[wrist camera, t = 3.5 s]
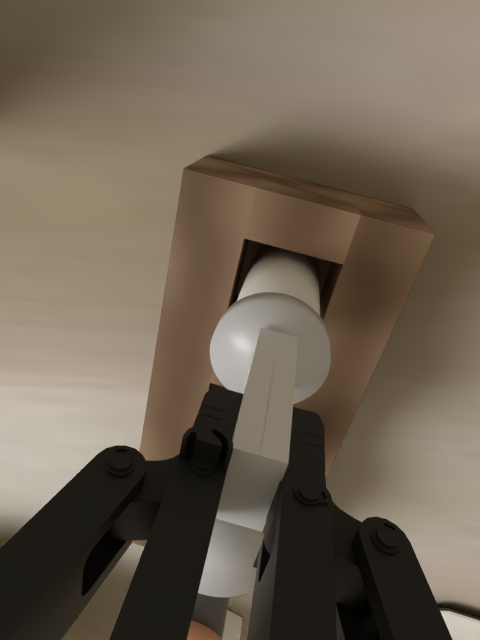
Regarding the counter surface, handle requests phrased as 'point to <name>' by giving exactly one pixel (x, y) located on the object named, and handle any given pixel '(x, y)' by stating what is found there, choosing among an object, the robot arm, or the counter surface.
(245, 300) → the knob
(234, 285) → the mount
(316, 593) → the robot arm
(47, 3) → the counter surface
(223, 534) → the knob mid
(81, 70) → the counter surface
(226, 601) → the pot knob
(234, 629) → the milk
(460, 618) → the plate
